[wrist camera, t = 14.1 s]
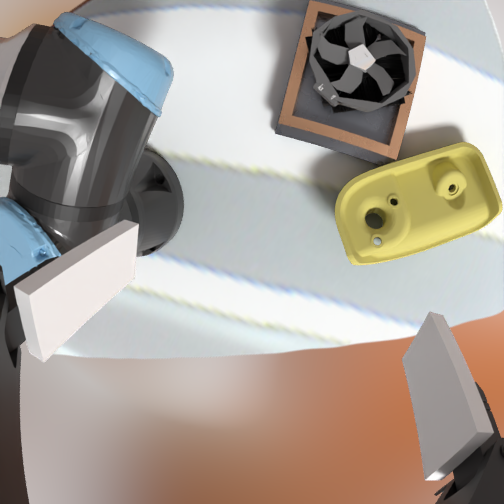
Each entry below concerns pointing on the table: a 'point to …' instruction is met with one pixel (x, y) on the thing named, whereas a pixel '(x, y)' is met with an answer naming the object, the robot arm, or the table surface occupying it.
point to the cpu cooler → (360, 62)
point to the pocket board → (322, 118)
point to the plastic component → (417, 204)
